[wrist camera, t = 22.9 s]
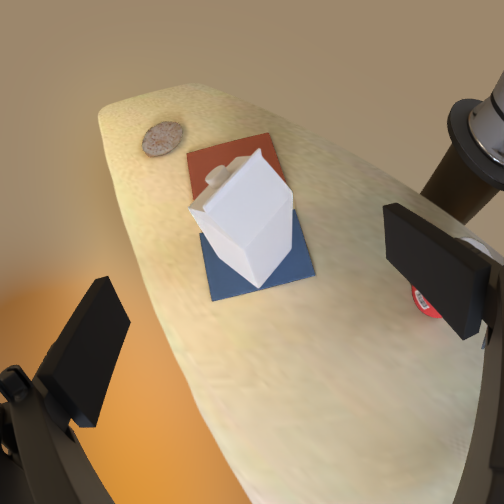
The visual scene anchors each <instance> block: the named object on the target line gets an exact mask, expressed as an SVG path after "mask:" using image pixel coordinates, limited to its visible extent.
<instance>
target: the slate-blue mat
mask: <svg viewBox="0 0 504 504" xmlns="http://www.w3.org/2000/svg"><path fill="white" fill-rule="evenodd" d="M199 234H200V240H201V246H202V251H203V256H204V262H205V267H206V273H207V278H208V283H209V288H210V293H211V298H212V301H216V300H220V299H225V298H229V297H233V296H237V295H241V294H245V293H249V292H253V291H257V290H261V289H265V288H269V287H273V286H277V285H281V284H285V283H289V282H293V281H296V280H300V279H304V278H308V277H312V276H315V272H314V269H313V265H312V262H311V259H310V256H309V252H308V249H307V246H306V243H305V239H304V236H303V233H302V230H301V227H300V224H299V220H298V217H297V214H296V211H295V209H293V210H292V249H291V250H290V252H289V253H288V254H287V255H286V257H285V258H284V259H283V260H282V261H281V263H280V264H279V265H278V266H277V268H276V269H275V270H274V271H273V272H272V274H271V275H270V276H269V277H268V279H267V280H266V281H265V282H264V283H263V285H262V286H261V287H260V288H259V289H258V288H257V287H255V286H254V285H253V284H252V283H250V282H249V281H248V280H246V279H245V278H244V277H243V276H241V275H240V274H239V273H237V272H236V271H235V270H234V269H232V268H231V267H230V266H229V265H227V264H226V263H225V262H224V261H222V260H221V259H220V258H219V257H218V256H217V254H216V253H215V251H214V249H213V248H212V246H211V245H210V243H209V241H208V240H207V238H206V237H205V235H204V233H199Z"/></svg>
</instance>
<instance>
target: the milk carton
mask: <svg viewBox="0 0 504 504" xmlns="http://www.w3.org/2000/svg"><path fill="white" fill-rule="evenodd" d="M205 181H206V182H207V183H208V184H209V185H208V186H207V187H206V189H205V190H204V191H203V192H202V193H201V194H200V195H199V196H198V197H197V198H196V199H195V200H194V201H193V202H192V203H191V204H190V206H189V207H188V209H189V211H190V212H191V214H192V216H193V217H194V219H195V220H196V222H197V224H198V225H199V227H200V229H201V230H202V232H203V233H204V235H205V237H206V238H207V240H208V241H209V243H210V245H211V246H212V248H213V249H214V251H215V253H216V254H217V256H218V257H219V258H220V259H221V260H222V261H224V262H225V263H226V264H227V265H229V266H230V267H231V268H232V269H234V270H235V271H236V272H237V273H239V274H240V275H241V276H243V277H244V278H245V279H246V280H248V281H249V282H250V283H252V284H253V285H254V286H255V287H257V288H258V289H259V288H260V287H261V286H262V285H263V283H264V282H265V281H266V280H267V279H268V277H269V276H270V275H271V274H272V272H273V271H274V270H275V269H276V268H277V266H278V265H279V264H280V263H281V261H282V260H283V259H284V258H285V257H286V255H287V254H288V253H289V252H290V250H291V249H292V208H293V192H292V191H291V189H290V188H289V187H288V186H287V185H286V183H285V182H284V181H283V180H282V179H281V178H280V176H279V175H278V174H277V173H276V172H275V171H274V169H273V168H272V167H271V166H270V165H269V164H268V163H267V161H266V160H265V159H264V158H263V157H262V155H261V149H260V148H258V149H257V150H256V151H255V152H254V153H253V154H252V155H251V156H241V157H236V158H235V159H234V160H233V161H232V162H231V163H230V164H229V165H228V166H227V167H225V166H224V165H220V166H217V167H216V168H214V169H213V170H212V171H211V172H210V173H209V174H208V175H207V176H206V178H205Z"/></svg>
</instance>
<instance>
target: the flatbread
mask: <svg viewBox="0 0 504 504" xmlns="http://www.w3.org/2000/svg"><path fill="white" fill-rule="evenodd" d="M181 137H182V128H181V126H180V124H178V123H177V122H162V123H159V124H157V125H156V126H154V127H152V128H151V129H150V130H148V131H147V132H146V134H145V136H144V139H143V142H142V148H143V151H144V152H145V153H146V154H147V155H148V156H158V155H163V154H166V153H168V152H169V151H171V150H172V149H173V148H175V147H176V146H177V144H178V143H179V142H180V139H181Z"/></svg>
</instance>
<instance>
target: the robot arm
mask: <svg viewBox="0 0 504 504" xmlns="http://www.w3.org/2000/svg"><path fill="white" fill-rule="evenodd" d="M467 128H468V132H469V134H470V136H471V138H472V140H473V142H474V143H475V145H476V146H477V147H478V149H479V150H480V151H481V152H482V153H483V154H484V155H485V156H486V157H487V158H488V159H489V160H490V161H492V162H493V163H494V164H496V165H497V166H499V167H501V168H503V169H504V72H503V73H502V75H501V77H500V79H499V81H498V82H497V84H496V86H495V88H494V90H493V92H492V93H491V95H490V97H488V98H487V99H486V100H484V101H483V102H481V103H480V104H479V105H477V106H476V107H475V108H474V109H473V110H472V111H471V112H470V114H469V116H468V118H467ZM383 214H384V227H385V243H386V259H387V260H388V261H389V262H390V263H391V264H392V265H393V266H394V267H395V268H396V269H397V270H398V271H399V272H400V273H401V274H402V275H403V276H404V277H405V278H406V279H407V280H408V281H409V282H410V283H411V284H412V285H413V286H414V287H415V288H416V289H417V290H418V291H419V292H420V294H421V295H422V296H423V297H424V298H425V299H426V300H427V301H428V302H429V303H430V304H431V305H432V306H433V307H434V309H435V310H436V311H437V312H438V313H439V314H440V315H441V316H442V317H443V318H444V320H445V321H446V322H447V323H448V324H449V325H450V326H451V327H452V329H453V330H454V331H455V332H456V333H457V334H458V335H459V337H460V338H461V339H462V340H465V339H467V338H469V337H471V336H473V335H475V334H477V333H479V329H480V325H481V320H483V321H484V322H485V323H486V324H487V325H488V327H487V330H486V334H485V338H484V341H483V345H482V348H481V349H484V348H485V353H484V365H483V374H482V383H481V390H480V397H479V403H478V409H477V415H476V420H475V425H474V430H473V435H472V439H471V444H470V448H469V452H468V456H467V459H466V463H465V467H464V470H463V474H462V477H461V480H460V483H459V487H458V490H457V493H456V495H455V498H454V501H453V504H504V265H503V266H502V265H501V264H499V263H498V262H496V261H495V260H494V259H492V258H491V257H489V256H488V255H487V254H485V253H484V252H483V253H482V251H481V250H479V249H478V248H475V246H473V245H472V244H470V243H469V242H467V241H465V240H462V239H459V238H453V237H451V236H450V235H448V234H447V233H445V232H444V231H442V230H440V229H439V228H437V227H436V226H434V225H433V224H431V223H429V222H428V221H426V220H425V219H423V218H422V217H420V216H418V215H417V214H415V213H413V212H412V211H410V210H408V209H407V208H405V207H403V206H402V205H400V204H398V203H393V204H388V205H384V206H383ZM130 323H131V322H130V320H129V318H128V316H127V314H126V312H125V310H124V308H123V306H122V304H121V302H120V300H119V298H118V296H117V294H116V292H115V289H114V287H113V285H112V283H111V281H110V279H109V277H108V276H106V277H102V278H98V279H95V280H94V282H93V283H92V285H91V286H90V288H89V289H88V291H87V292H86V294H85V295H84V297H83V299H82V300H81V302H80V303H79V305H78V306H77V308H76V309H75V311H74V313H73V314H72V316H71V318H70V319H69V321H68V322H67V324H66V325H65V327H64V329H63V330H62V332H61V334H60V335H59V337H58V339H57V340H56V342H54V343H53V345H51V347H50V349H49V351H48V352H47V355H46V356H45V358H44V359H43V362H42V363H41V365H40V367H39V368H38V370H37V372H36V374H35V376H34V378H33V379H32V381H31V380H30V379H29V378H28V376H27V375H26V374H25V373H24V371H23V370H22V368H21V367H20V366H19V365H12V366H10V367H8V368H6V369H5V370H4V371H2V372H1V374H0V392H1V393H2V395H3V396H4V397H5V398H6V399H7V401H8V402H5V403H2V404H1V403H0V504H115V503H114V501H113V500H112V498H111V497H110V495H109V494H108V492H107V490H106V489H105V487H104V485H103V484H102V482H101V481H100V479H99V477H98V476H97V474H96V472H95V470H94V469H93V467H92V465H91V463H90V461H89V460H88V458H87V456H86V454H85V452H84V450H83V448H82V447H81V445H80V443H79V441H78V439H77V437H76V435H75V433H74V431H73V430H72V428H71V427H70V426H69V425H68V424H69V422H70V419H71V418H72V419H73V421H74V422H75V423H76V424H77V425H78V426H79V427H83V428H84V427H96V424H97V421H98V417H99V414H100V411H101V408H102V405H103V401H104V398H105V395H106V392H107V389H108V386H109V383H110V380H111V377H112V374H113V371H114V368H115V365H116V362H117V359H118V356H119V353H120V350H121V348H122V345H123V342H124V339H125V337H126V334H127V331H128V328H129V326H130ZM1 443H2V444H3V445H4V446H5V447H6V448H7V449H8V455H7V454H6V453H5V452H4V451H3V449H2V445H1Z"/></svg>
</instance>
